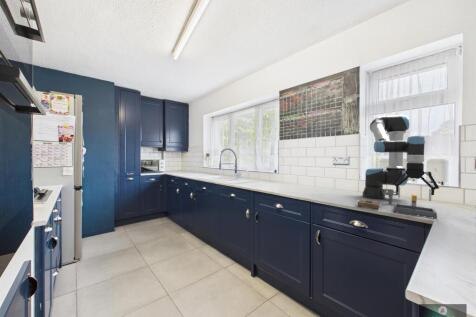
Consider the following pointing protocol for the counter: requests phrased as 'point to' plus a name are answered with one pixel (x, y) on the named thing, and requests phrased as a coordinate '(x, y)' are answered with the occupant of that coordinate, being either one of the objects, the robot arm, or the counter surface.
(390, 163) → the robot arm
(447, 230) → the counter surface
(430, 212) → the parts tray
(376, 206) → the block
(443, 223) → the counter surface
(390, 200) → the mechanical component
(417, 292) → the counter surface
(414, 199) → the tall wooden block
